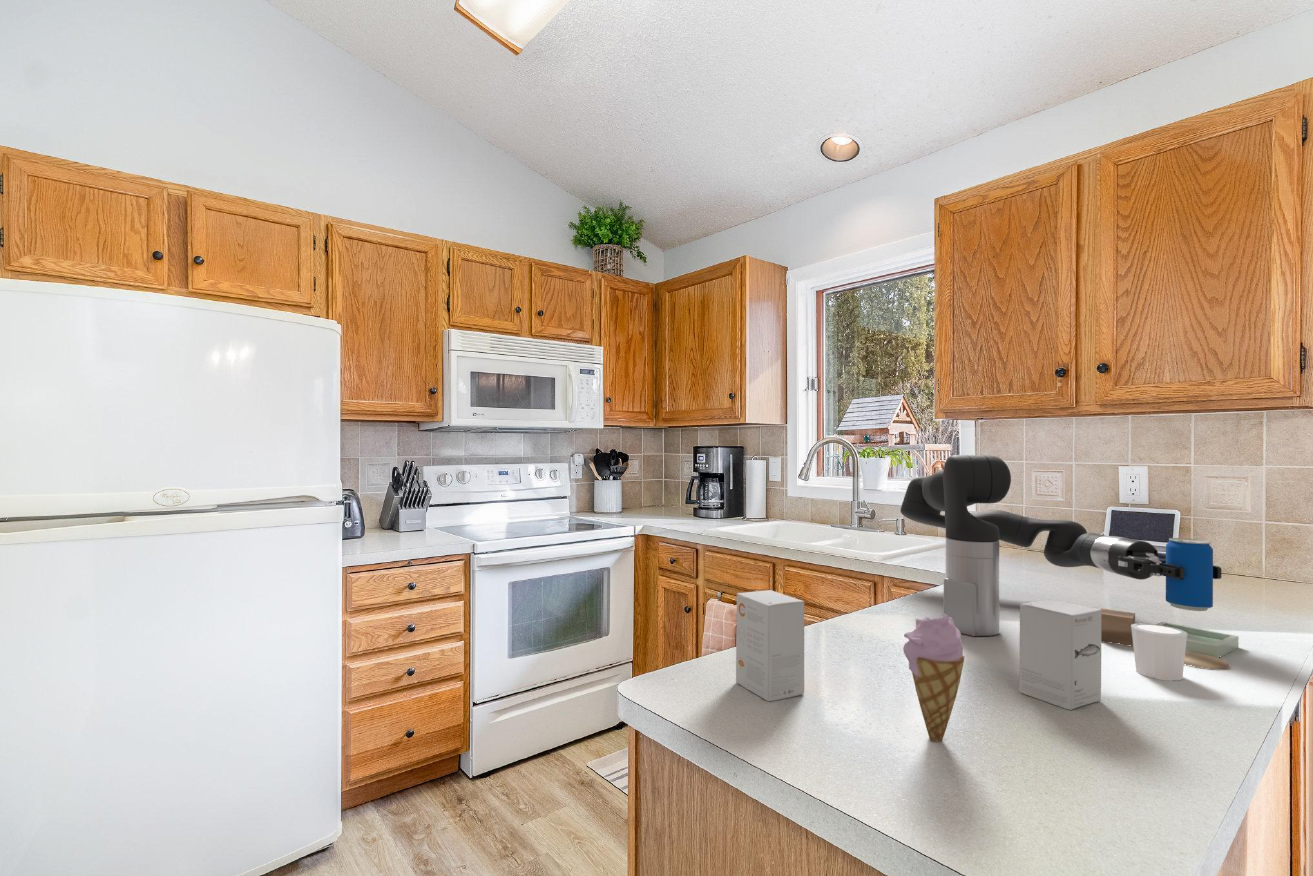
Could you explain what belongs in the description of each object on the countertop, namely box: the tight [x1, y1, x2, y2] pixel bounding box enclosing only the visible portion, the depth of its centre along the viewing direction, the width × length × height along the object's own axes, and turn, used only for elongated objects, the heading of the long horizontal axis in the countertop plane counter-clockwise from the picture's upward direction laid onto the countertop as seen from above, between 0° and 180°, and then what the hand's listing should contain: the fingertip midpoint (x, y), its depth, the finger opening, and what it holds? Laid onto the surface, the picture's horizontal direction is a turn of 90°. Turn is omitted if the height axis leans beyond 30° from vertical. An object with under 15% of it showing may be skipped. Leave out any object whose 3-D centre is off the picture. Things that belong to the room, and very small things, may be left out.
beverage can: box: [1165, 537, 1214, 612], centre depth 114 cm, size 6×6×12 cm
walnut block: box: [1100, 608, 1136, 647], centre depth 115 cm, size 5×5×5 cm
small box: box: [735, 589, 805, 702], centre depth 90 cm, size 8×6×13 cm
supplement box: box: [1018, 599, 1102, 711], centre depth 88 cm, size 7×7×13 cm
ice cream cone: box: [903, 612, 965, 743], centre depth 75 cm, size 7×6×15 cm
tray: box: [1155, 621, 1240, 658], centre depth 113 cm, size 11×11×2 cm
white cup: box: [1131, 622, 1187, 681], centre depth 98 cm, size 7×7×7 cm
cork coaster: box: [1184, 651, 1230, 670], centre depth 104 cm, size 8×8×1 cm
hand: (1200, 573), depth 111 cm, fingers closed on beverage can, 6 cm apart
